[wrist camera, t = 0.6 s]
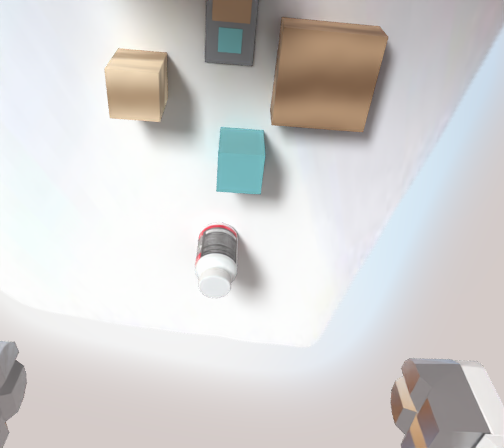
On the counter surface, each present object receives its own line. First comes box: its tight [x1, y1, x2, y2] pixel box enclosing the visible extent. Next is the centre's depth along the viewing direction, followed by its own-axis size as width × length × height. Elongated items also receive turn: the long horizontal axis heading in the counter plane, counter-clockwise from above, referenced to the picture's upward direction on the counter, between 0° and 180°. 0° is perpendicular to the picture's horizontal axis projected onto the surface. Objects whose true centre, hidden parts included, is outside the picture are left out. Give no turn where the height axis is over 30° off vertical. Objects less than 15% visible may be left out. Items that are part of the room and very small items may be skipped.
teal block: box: [216, 127, 265, 194], centre depth 52 cm, size 5×5×6 cm
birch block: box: [105, 48, 168, 122], centre depth 47 cm, size 5×5×6 cm
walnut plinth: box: [270, 17, 388, 132], centre depth 48 cm, size 10×10×4 cm
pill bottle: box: [195, 222, 238, 298], centre depth 59 cm, size 5×5×10 cm
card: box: [205, 0, 258, 66], centre depth 46 cm, size 8×5×1 cm, turn 175°
